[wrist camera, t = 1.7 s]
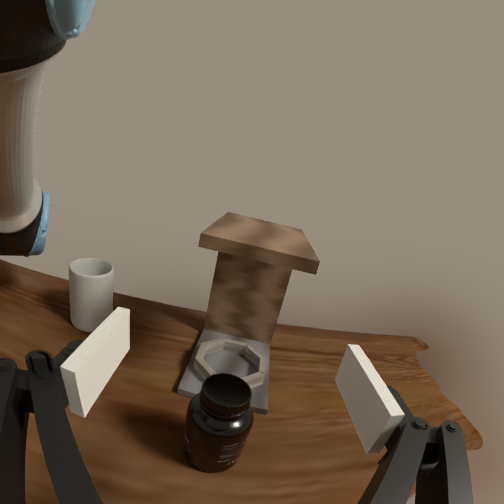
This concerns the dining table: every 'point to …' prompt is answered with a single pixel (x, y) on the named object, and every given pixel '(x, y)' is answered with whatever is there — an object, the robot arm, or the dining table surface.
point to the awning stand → (245, 300)
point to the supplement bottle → (218, 423)
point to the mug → (90, 292)
